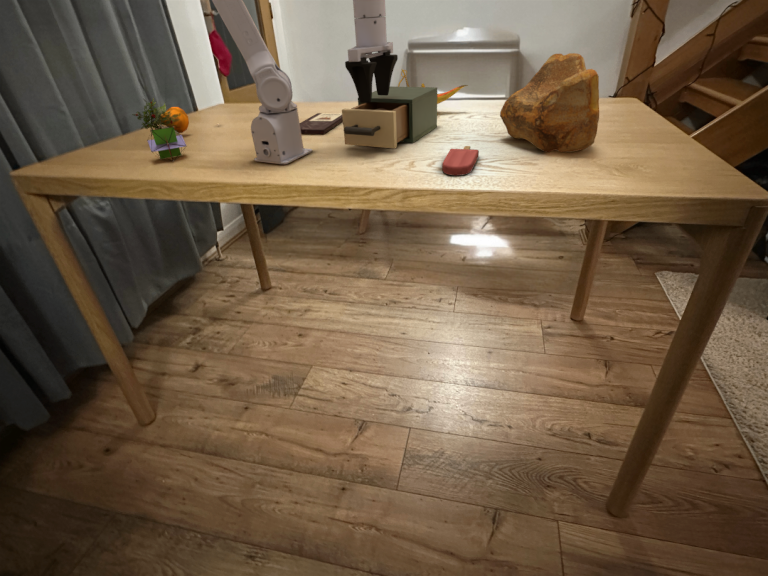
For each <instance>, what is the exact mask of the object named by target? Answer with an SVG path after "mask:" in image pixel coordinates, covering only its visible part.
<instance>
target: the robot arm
mask: <svg viewBox="0 0 768 576" xmlns="http://www.w3.org/2000/svg"><path fill="white" fill-rule="evenodd" d="M211 2H212V3H213V5H214V7H215V9H216V11H217V12H218V14H219V16H220V18H221V19H222V21H223V23H224V25H225V27H226V29H227V30H228V32H229V34H230V36H231V39H232V40H233V41H234V44H235V45H236V47H237V49H238V50H239V52H240V54H241V56H242V57H243V60H244V62H245V63H246V66H247V68H248V71H249V73H250V76H251V77H252V79H253V82H254V84H255V90H256V96H257V99H258V101H259V102H260V104H261V105H260V106H259V107H258V115H257V116H255V117H254V118H253V119H252V121H251V124H250V132H251V137H252V142H253V146H254V151H255V155H256V157H255V158H254V159H253V161H254V162H259V163H268V164H276V165H288V164H290V163H292V162H295V161H296V160H299V159H300V158H302V157H304V156H306V155H308V154H310V153H312V152H313V151H314V150H313V148H306V147H305V148H304V144H303V138H302V136H303V135H302V134H301V129H300V123H301V122H300V117H299V110H298V104H297V103H295V102H293V101H292V100H293V88H292V87H293V86H292V81H291V79H290V77H289V75H288V74H287V73H286V72H285V71H284V70H282V69H281V68H280V67H279V66H278V64H277V62H276V61H275V59H274V57H273V55H272V53H271V52H270V50H269V48H268V46H267V44H266V42H265V41H264V39H263V37H262V35H261V33H260V31H259V29H258V27H257V25H256V23H255V21H254V19H253V17H252V15H251V13H250V12H249V10H248V8H247V5H246V3H245V2H244V0H211ZM352 6H353V7H352V8H353V19H354V20H353V21H354V33H355V46H353V47H351V48H347V59H348V60H346V61H345V62H344V66H345V67H344V68H345V69H346V70H347V71H348V74H349V75H350V77H351V79H352V81H353V84H354V87H355V90H356V93H357V98H358V97H359V100H360V102H362V103H370V102H371V99H372V92H373V80H374V81H375V88H376V91H377V93H378V95H386V96H387V95H388V93H389V88H390V86H391V82H392V78H393V77H392V76H393V72H394V70H395V66H396V64H397V62H398V59H399V56H398V54H393V53H394V42H393V41H388V40H387V14H386V0H352ZM367 59H368V60H367Z"/></svg>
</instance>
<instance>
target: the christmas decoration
mask: <svg viewBox="0 0 768 576" xmlns="http://www.w3.org/2000/svg"><path fill="white" fill-rule="evenodd" d="M144 102H145V105H144V106H143V111H142V113H141V112H139V111H137V112H136V113H135V114H134V113H132V114H131V116H135V117H137V120H139V121H141V120H143V122H141V124H142V125H141V126H142V127H141V128H140V130H142V129H145V130H148V129H150V131H149V132H150V133H151V130H156V129H161V126H160V125H162V126H166V127H169V126H170V127H174V128H175V129H174V130H175V131H177V132H178V133H180V134H182V133H184V132H187V130H188V128H189V125H190V121H189V119H190V118H189V116H188V114H187V113H186V111H185V110H184V109H182V108H181V107H179V106H171V107H169V108H168V109H167V104H166V102H164V103H163V105H161V106H157V107H155V105H156V104H157V101H155V97H153V98H152V100H151V101H149V102H148V101H147V100H146V99H144ZM216 125H217V126H220V123H217V124H216Z"/></svg>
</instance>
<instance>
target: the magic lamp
mask: <svg viewBox="0 0 768 576" xmlns="http://www.w3.org/2000/svg"><path fill="white" fill-rule="evenodd" d="M400 75H401V77H402V78H401V79H400V80H399V82H398V85H397V87H400V85H401V83H402V81H403V80H404V81H405V84H406V87H410V84H409V82H408V77H407V75H408V70H406V69H401V72H400ZM468 86H469V85H468V84H462V85H459V86H457V87H454V88H452V89H449V90H448V91H445V92H440V93H437V105H439V104H441V103H443V102H445V101H447V100H448V99H450V98H451V97H453V96H454V95H455V94H457V93H458V92H459V91H460V90H462V89H463V88H465V87H468ZM420 87H426V85H425V83H421V85H420Z"/></svg>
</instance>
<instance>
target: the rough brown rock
mask: <svg viewBox="0 0 768 576" xmlns="http://www.w3.org/2000/svg"><path fill="white" fill-rule="evenodd" d="M599 87H600V78H599V74H598V72H597V70H595V69H593V68H587V67H586V63H585V58H584V57H583V56H582V55H581V54H579V53H575V52H571V53H570V52H569V53H567V54H563V53H553V54H552V55H550V56H549V57H548V58H547V59H546V61H545V62H544V63H543V65H541V67H540V68H539V70H537V72H536V73H535V74H534V75H533V76H532V78H531V79H530V80H529V81H528V82H527V84H526V85H525V86H524V87H522V88H521V89H519V90H516V91H514V93H512V94H510V96H509V97H508V98H507V99H506V100H505V101H504V104H503V105H502V107H501V109H500V112H499V117H500V119H501V120H502V123H503V124H504V126H505V129H506V131H507V135H509V136H510V137H512V138H514V139H521V140H522V139H524V140H526V141H527V142H529V143H530V144H532V145H533V146H534V147H535V148H537V149H539V150H540V151H543V152H545V153H551V152H553V151H558V152H559V153H572V152H577V151H582V150H585V149H587V148H589V147H591V146H592V145H593V144H594V143H595V140H596V136H597V133H598V128H599V121H600V89H599Z"/></svg>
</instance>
